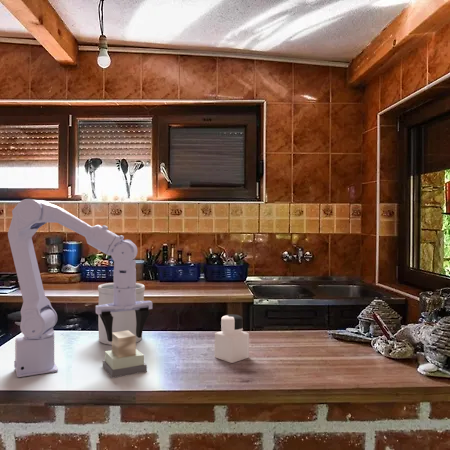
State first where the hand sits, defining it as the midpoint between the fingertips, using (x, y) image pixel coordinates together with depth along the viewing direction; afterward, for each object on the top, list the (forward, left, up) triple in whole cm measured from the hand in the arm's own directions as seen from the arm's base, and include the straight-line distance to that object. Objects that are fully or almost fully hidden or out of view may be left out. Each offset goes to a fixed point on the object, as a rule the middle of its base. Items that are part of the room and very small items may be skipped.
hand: (124, 338), depth 116 cm
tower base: (0, 0, -9) cm, 9 cm away
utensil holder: (+7, +28, -8) cm, 30 cm away
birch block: (0, 0, -4) cm, 4 cm away
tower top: (0, 0, -6) cm, 6 cm away
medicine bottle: (+30, -5, -8) cm, 31 cm away
